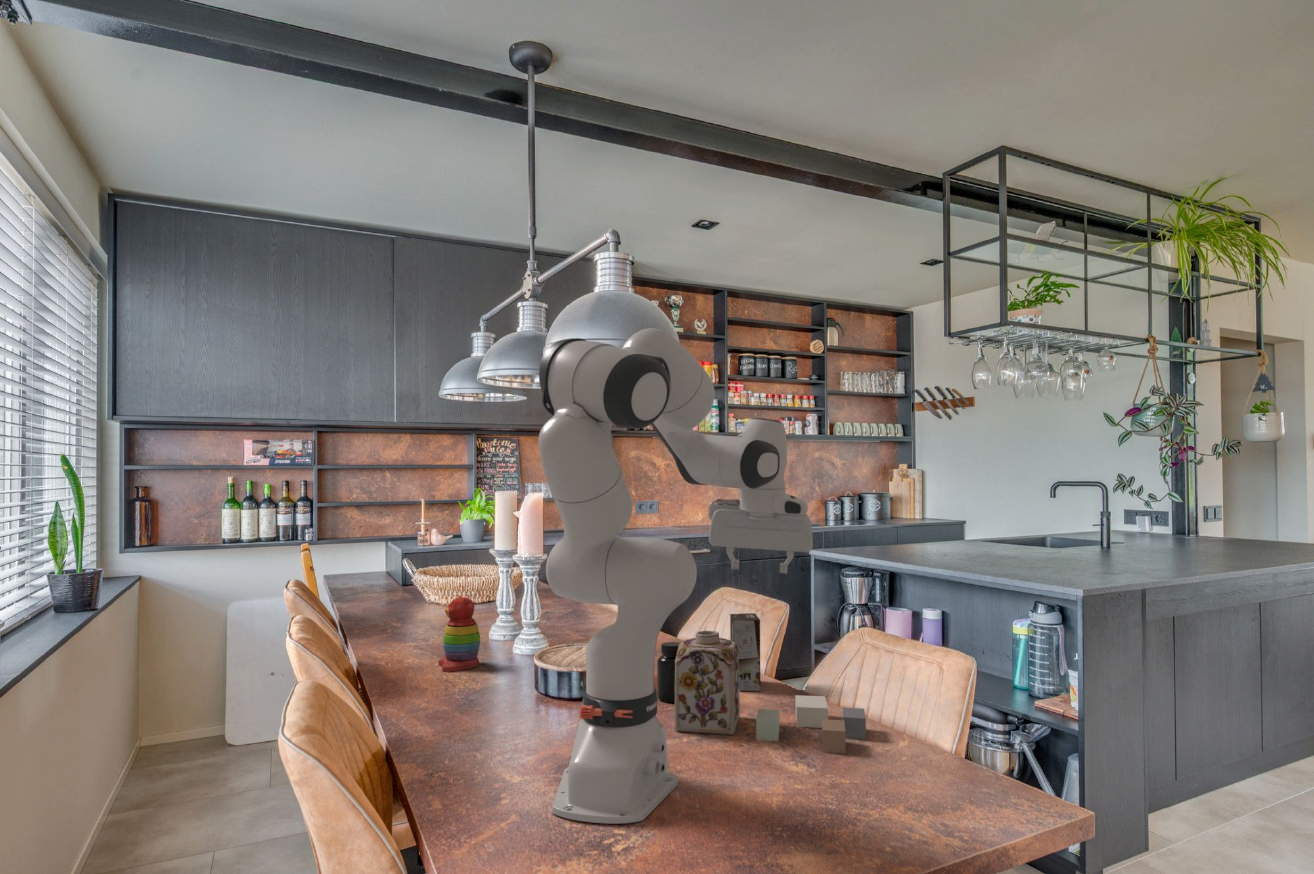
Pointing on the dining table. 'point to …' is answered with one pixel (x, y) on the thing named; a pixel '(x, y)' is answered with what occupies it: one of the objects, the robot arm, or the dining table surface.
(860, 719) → the grey brick
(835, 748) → the walnut brick
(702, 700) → the decorative jar
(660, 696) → the supplement bottle
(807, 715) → the cream block
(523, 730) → the dining table surface
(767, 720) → the sage brick
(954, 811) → the dining table surface
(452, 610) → the stacking bear
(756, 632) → the coffee box
